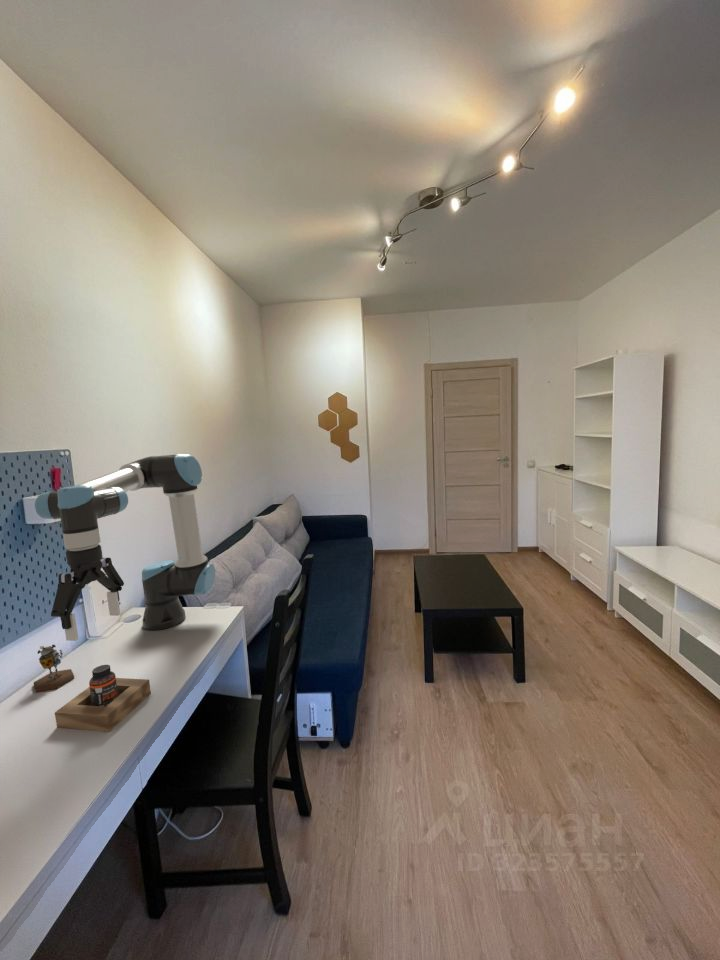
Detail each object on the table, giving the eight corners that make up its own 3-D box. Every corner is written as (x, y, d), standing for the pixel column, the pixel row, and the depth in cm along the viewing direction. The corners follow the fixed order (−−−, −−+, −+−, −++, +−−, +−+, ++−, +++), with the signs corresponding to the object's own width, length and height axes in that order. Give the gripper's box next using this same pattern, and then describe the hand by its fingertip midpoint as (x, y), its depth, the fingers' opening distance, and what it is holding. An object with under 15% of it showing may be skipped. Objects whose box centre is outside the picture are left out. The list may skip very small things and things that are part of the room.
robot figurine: (82, 670, 129) (76, 633, 128) (68, 687, 120) (62, 648, 119) (42, 676, 127) (36, 639, 126) (24, 694, 118) (18, 655, 117)
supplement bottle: (106, 717, 105) (100, 675, 104) (87, 715, 107) (81, 674, 106) (124, 702, 111) (119, 662, 110) (106, 701, 112) (100, 661, 111)
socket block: (104, 690, 118) (102, 677, 117) (150, 693, 115) (149, 679, 114) (56, 727, 103) (54, 712, 102) (108, 731, 100) (106, 716, 100)
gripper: (108, 534, 117) (118, 606, 120) (22, 562, 93) (37, 651, 95) (131, 534, 116) (141, 606, 118) (50, 562, 91) (65, 652, 94)
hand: (95, 626), depth 107 cm, fingers open, 13 cm apart
